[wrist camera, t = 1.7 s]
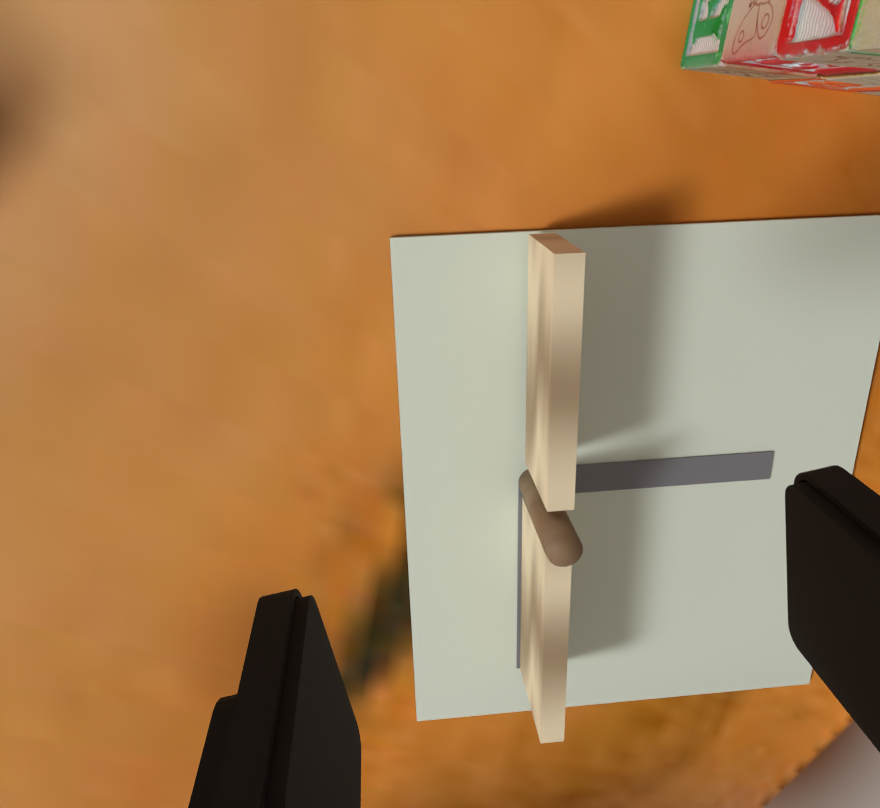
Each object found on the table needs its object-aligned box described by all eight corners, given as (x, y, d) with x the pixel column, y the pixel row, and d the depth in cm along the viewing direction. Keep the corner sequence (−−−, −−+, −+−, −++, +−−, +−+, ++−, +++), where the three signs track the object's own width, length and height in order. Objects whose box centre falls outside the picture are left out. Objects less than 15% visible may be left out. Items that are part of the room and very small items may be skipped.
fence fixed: (542, 661, 32) (572, 755, 27) (515, 663, 32) (540, 758, 27) (548, 464, 28) (583, 533, 23) (517, 466, 28) (547, 536, 23)
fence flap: (549, 461, 27) (574, 509, 24) (525, 462, 27) (547, 511, 24) (555, 232, 24) (585, 252, 21) (528, 234, 24) (554, 254, 21)
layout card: (806, 680, 34) (810, 684, 33) (416, 717, 32) (417, 722, 32) (901, 213, 26) (907, 214, 25) (389, 237, 24) (390, 238, 24)
